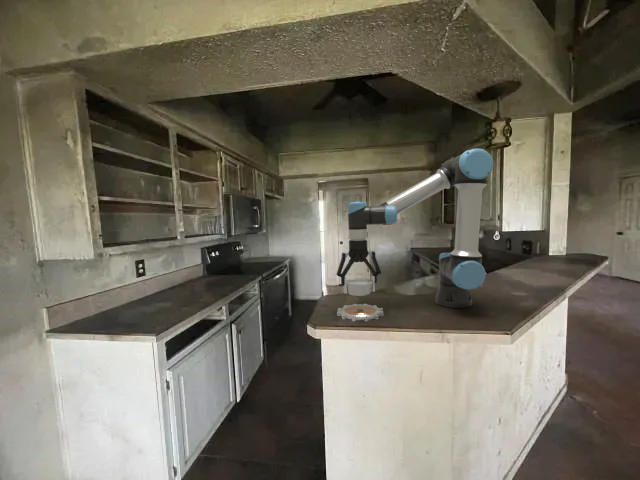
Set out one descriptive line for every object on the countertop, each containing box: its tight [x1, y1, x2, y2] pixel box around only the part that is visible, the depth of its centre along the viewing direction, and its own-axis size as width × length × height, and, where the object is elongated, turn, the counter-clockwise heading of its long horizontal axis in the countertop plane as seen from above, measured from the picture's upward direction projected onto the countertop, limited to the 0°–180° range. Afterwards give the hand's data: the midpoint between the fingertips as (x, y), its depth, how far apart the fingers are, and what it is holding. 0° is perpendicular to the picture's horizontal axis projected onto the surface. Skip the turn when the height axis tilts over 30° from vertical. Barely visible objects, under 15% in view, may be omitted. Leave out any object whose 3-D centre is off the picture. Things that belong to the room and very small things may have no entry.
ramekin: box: [347, 277, 373, 297], centre depth 132 cm, size 11×11×5 cm
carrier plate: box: [336, 303, 385, 322], centre depth 133 cm, size 19×19×2 cm
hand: (359, 291), depth 132 cm, fingers closed on ramekin, 11 cm apart
